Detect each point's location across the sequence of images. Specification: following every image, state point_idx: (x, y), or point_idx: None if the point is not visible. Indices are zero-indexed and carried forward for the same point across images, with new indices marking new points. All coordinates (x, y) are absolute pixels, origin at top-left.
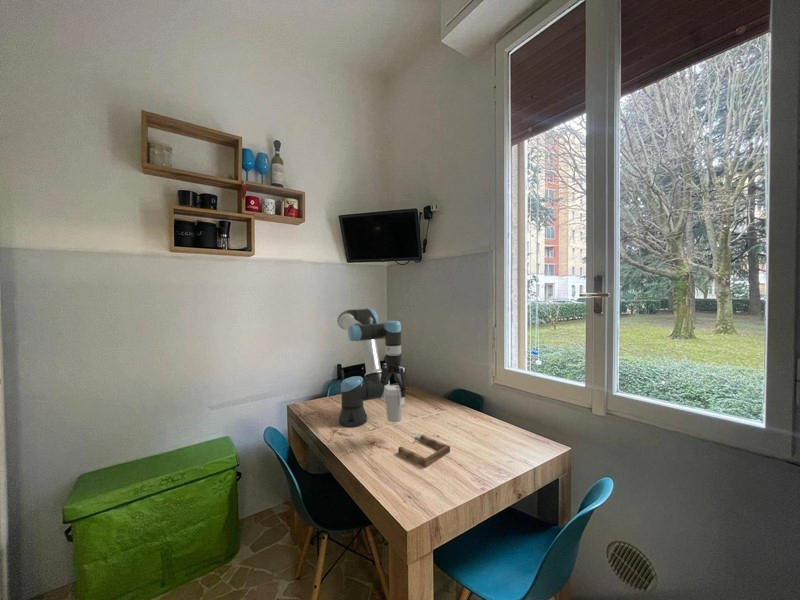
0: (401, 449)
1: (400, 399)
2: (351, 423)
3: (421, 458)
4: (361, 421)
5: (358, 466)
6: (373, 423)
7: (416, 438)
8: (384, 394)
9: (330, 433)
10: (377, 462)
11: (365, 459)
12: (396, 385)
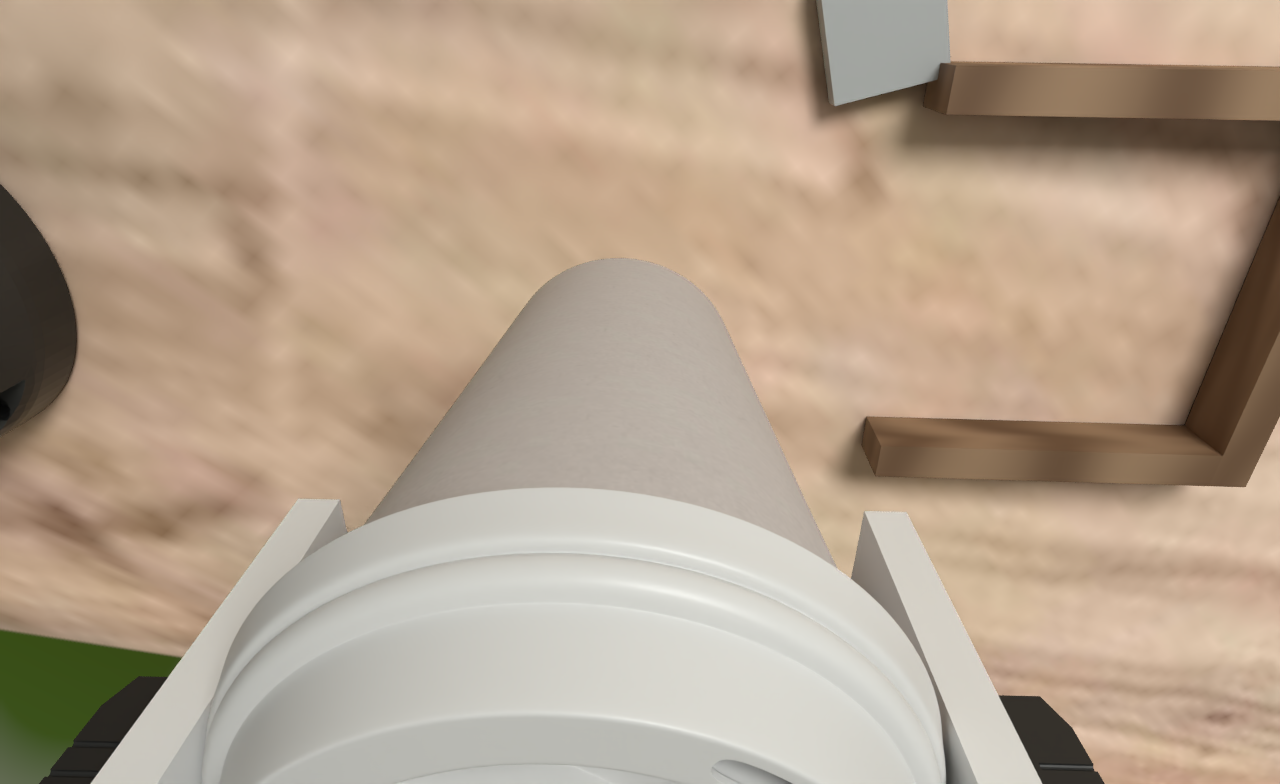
0: (920, 476)
1: None
2: (31, 406)
3: (1185, 480)
4: (31, 297)
5: None
6: (89, 139)
7: (850, 98)
8: None
9: (99, 571)
10: None
11: None
12: (363, 755)
